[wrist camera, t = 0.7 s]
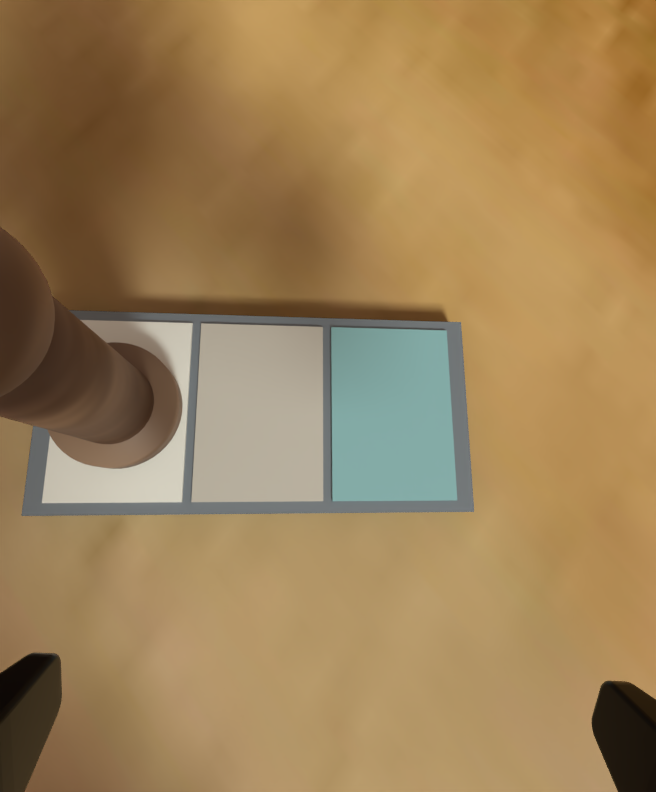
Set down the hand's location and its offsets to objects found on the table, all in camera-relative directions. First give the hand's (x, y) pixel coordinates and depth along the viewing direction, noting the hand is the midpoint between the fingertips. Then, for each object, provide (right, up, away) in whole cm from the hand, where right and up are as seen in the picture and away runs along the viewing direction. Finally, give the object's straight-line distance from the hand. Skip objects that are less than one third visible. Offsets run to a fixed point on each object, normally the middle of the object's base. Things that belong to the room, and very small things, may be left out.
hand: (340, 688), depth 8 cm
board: (-3, +4, +14) cm, 15 cm away
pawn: (-9, +4, +12) cm, 16 cm away
